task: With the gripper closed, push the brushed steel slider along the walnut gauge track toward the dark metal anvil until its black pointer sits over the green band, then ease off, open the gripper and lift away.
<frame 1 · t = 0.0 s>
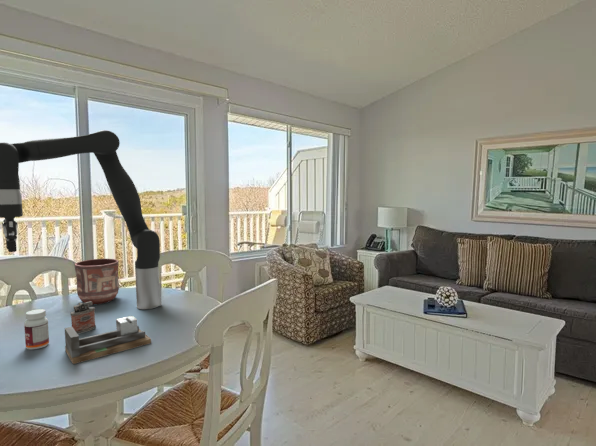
hand: (11, 250, 126), 29 cm above the table, tool pointing down, fingers open, 8 cm apart
gauge slider: (127, 328, 119), point 5 cm above the table, slide at 0.0 cm
lighter: (84, 331, 130), on the table
pottery: (99, 301, 166), on the table
pill bottle: (37, 346, 117), on the table
gauge track: (109, 346, 116), on the table
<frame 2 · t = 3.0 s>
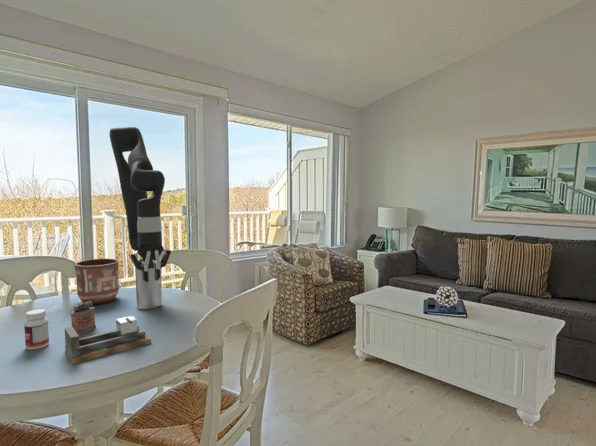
hand: (151, 280, 124), 19 cm above the table, tool pointing down, fingers open, 3 cm apart
nothing on the table moved.
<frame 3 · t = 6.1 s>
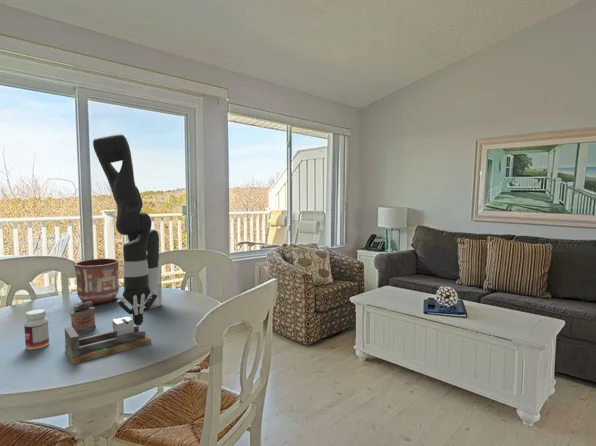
hand: (138, 324, 122), 5 cm above the table, tool pointing down, fingers closed
gauge slider: (124, 329, 118), point 5 cm above the table, slide at 1.1 cm, touching gripper
everything else where it was.
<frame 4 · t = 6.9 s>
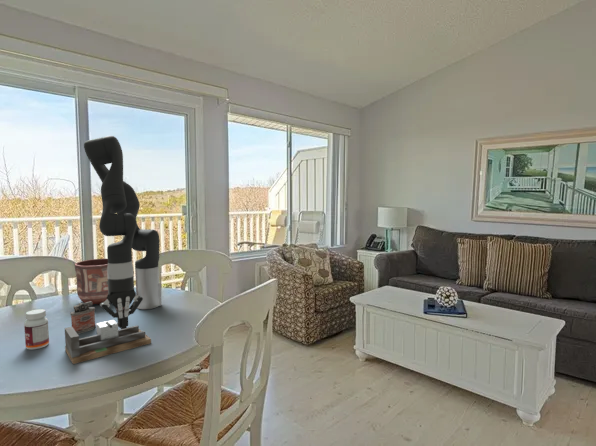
hand: (123, 328, 119), 5 cm above the table, tool pointing down, fingers closed
gauge slider: (108, 333, 115), point 5 cm above the table, slide at 5.8 cm, touching gripper
everything else where it was.
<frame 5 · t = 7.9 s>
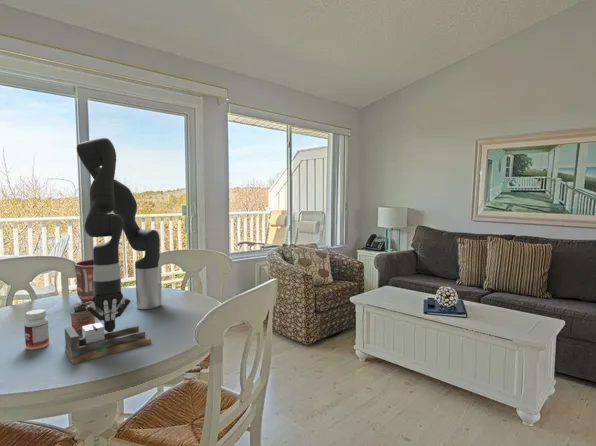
hand: (109, 331, 116), 5 cm above the table, tool pointing down, fingers closed
gauge slider: (94, 336, 112), point 5 cm above the table, slide at 9.8 cm, touching gripper
everything else where it was.
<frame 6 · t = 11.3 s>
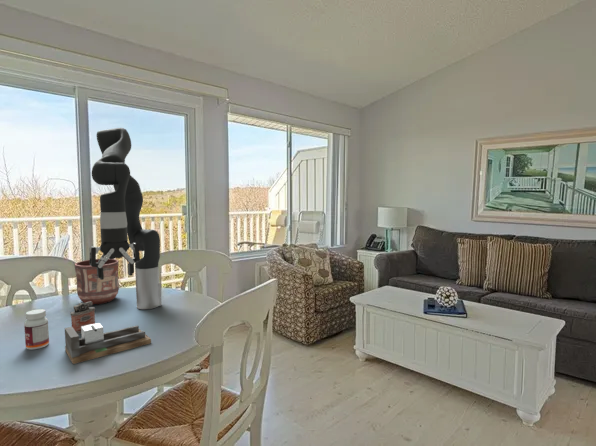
hand: (116, 277, 117), 22 cm above the table, tool pointing down, fingers open, 8 cm apart
gauge slider: (93, 336, 112), point 5 cm above the table, slide at 10.0 cm
everything else where it was.
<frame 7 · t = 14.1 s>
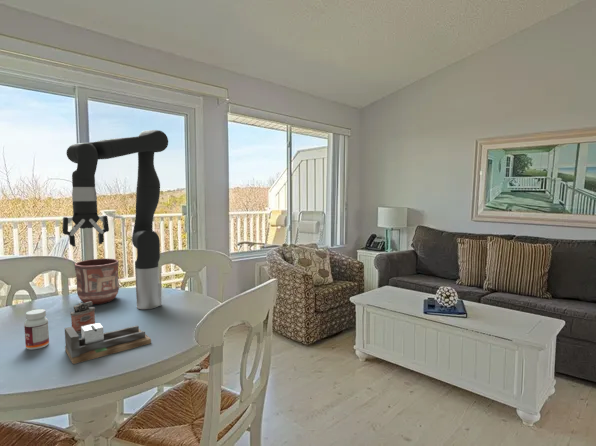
hand: (87, 245, 132), 30 cm above the table, tool pointing down, fingers open, 8 cm apart
nothing on the table moved.
at the end: gauge slider slide at 10.0 cm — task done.
